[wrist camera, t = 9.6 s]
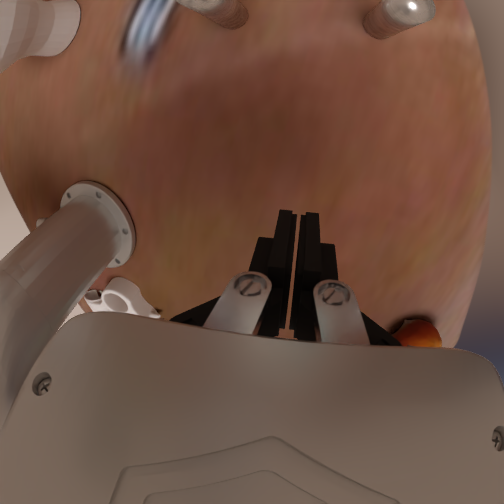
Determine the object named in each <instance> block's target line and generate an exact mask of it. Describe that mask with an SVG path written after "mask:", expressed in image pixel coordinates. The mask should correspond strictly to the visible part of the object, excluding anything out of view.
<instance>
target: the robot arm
mask: <svg viewBox="0 0 504 504" xmlns="http://www.w3.org/2000/svg"><path fill="white" fill-rule="evenodd" d="M296 220H297V214H292V211H290V210H280V211H279V216H278V220H277V225H276V230H275V235H274V238H265V237H259V238H258V241H257V244H256V247H255V251H254V254H253V257H252V261H251V264H250V267H249V271H248V272H242V273H239V274H237V275H236V276H234V277H233V278H232V279H231V280H230V282H229V284H228V285H227V287H226V289H225V290H224V292H223V294H222V295H221V296H219V297H217V298H215V299H213V300H210V301H208V302H206V303H204V304H201V305H199V306H197V307H195V308H192V309H190V310H188V311H186V312H183V313H181V314H179V315H176V316H175V317H173V318H171V319H170V320H169V321H167V320H164V318H152V317H146V316H141V315H135V314H130V313H123V312H114V311H98V312H88V313H84V314H80V315H77V316H75V317H73V318H71V319H70V320H68V321H67V322H66V323H65V324H64V325H63V326H62V327H61V328H60V329H59V327H60V326H61V325H62V324H63V322H64V321H65V319H66V318H67V316H68V315H69V314H70V313H71V311H72V310H73V309H74V307H75V306H76V305H77V303H78V302H79V301H80V299H81V298H82V297H83V295H84V294H85V293H86V292H87V290H88V289H89V288H90V287H91V285H92V284H93V283H94V282H95V280H96V279H97V278H98V277H99V275H100V274H101V273H102V272H103V271H104V269H105V268H106V267H109V268H114V267H119V266H121V265H123V264H124V263H125V262H126V261H127V260H128V259H129V258H130V256H131V255H132V253H133V251H134V248H135V243H136V240H135V230H134V226H133V223H132V220H131V217H130V215H129V213H128V212H127V210H126V208H125V207H124V205H123V204H122V202H121V201H120V200H119V199H118V198H117V197H116V196H115V194H114V193H112V192H111V191H110V190H109V189H107V188H106V187H104V186H102V185H100V184H99V183H95V182H92V181H81V182H77V183H76V184H74V185H72V186H71V187H69V188H68V189H67V190H66V191H65V193H64V194H63V197H62V199H61V204H60V209H59V210H58V211H57V212H55V213H54V214H53V215H52V216H50V217H49V218H39V219H38V220H37V222H36V227H37V228H36V229H35V230H33V231H32V232H31V233H30V234H29V235H28V236H26V237H25V238H24V239H23V240H22V241H21V242H20V243H19V244H18V245H17V246H15V247H14V248H13V249H12V250H11V251H10V252H9V253H8V254H7V255H6V256H5V257H4V258H3V259H2V260H1V261H0V504H504V386H503V383H502V381H501V378H500V376H499V374H498V372H497V370H496V368H495V367H494V366H493V364H492V363H491V362H490V361H488V360H487V359H485V358H484V357H482V356H480V355H477V354H475V353H472V352H469V351H465V350H460V349H454V348H445V347H416V346H411V345H407V346H402V344H401V343H400V342H399V341H398V340H397V339H396V338H394V337H393V336H392V335H391V334H389V333H388V332H387V331H385V330H384V329H383V328H382V327H380V326H379V325H378V324H376V323H375V322H374V321H373V320H371V319H370V318H369V317H367V316H366V315H365V314H364V313H362V312H361V311H360V309H359V306H358V303H357V300H356V297H355V294H354V292H353V290H352V289H351V288H350V287H349V286H348V285H347V284H345V283H343V282H341V281H338V271H337V261H336V252H335V245H334V244H326V243H320V226H319V213H311V212H306V215H301V220H300V230H299V240H298V250H297V259H296V268H295V278H294V289H293V299H292V308H291V317H290V326H289V329H291V330H294V338H297V339H298V340H295V339H286V338H277V337H274V336H278V335H279V328H282V329H285V323H286V315H287V307H288V298H289V290H290V281H291V272H292V262H293V252H294V242H295V231H296ZM58 329H59V330H58Z"/></svg>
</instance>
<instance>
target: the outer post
mask: <svg viewBox="0 0 504 504" xmlns="http://www.w3.org/2000/svg"><path fill="white" fill-rule="evenodd" d="M435 12H436V9H435V5H434V2H433V0H382V1H381V2H380V3H379V4H378V5H377V6H376V7H375V8H374V9H373V10H372V11H371V12H370V13H369V14H368V15H367V16H366V17H365V18H364V20H363V26H364V29H365V30H366V32H367V33H368V34H369V35H370V36H372V37H374V38H376V39H387V38H389V37H391V36H393V35H396V34H398V33H400V32H402V31H405V30H407V29H410V28H412V27H414V26H417V25H419V24H422V23H425V22H427V21H430V20H431V19H432V18H433V17H434V16H435Z"/></svg>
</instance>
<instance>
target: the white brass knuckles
mask: <svg viewBox="0 0 504 504" xmlns="http://www.w3.org/2000/svg"><path fill="white" fill-rule="evenodd" d="M99 291H100V290H99ZM100 293H101V298H99V296H98V293H97V291H96V290H91V291H88V292H86V293H85V295H84V298H85V300H86V302H87V303H88V305H89V306H90V308H91V309H92V311H93V312H98V311H114V312H123V313H130V314H135V315H141V316H146V317H152V318H160V315H159V314H158V312H157V311H156V310H155V309H154V307H153V306H151V305H150V304H149V303H147V302H146V301H145V299H144V298H143V297H142V295H141V293H140V289H139V288H138V287H137V286H136V285H135V284H134V283H132V282H131V281H129V280H127V279H125V278H121V277H116V278H113V279H112V280H111V281H110V283H109V284H108V285H107V286H106V288H105V289H104V290H103V292H102V291H100Z"/></svg>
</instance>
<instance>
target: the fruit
mask: <svg viewBox="0 0 504 504" xmlns="http://www.w3.org/2000/svg"><path fill="white" fill-rule="evenodd" d="M391 335H392V336H393V337H394V338H396V339H397V340H398V341H399V342H400V343H401V344H402V346H407V345H411V346H416V347H442V340H441V337H440V335H439V333H438V330H437V329H436V328H435V327H434V326H433V325H432V324H431V323H429V322H427V321H424V320H421V319H416V320H405V319H404V323H403V325H402V326H401V328H400V329H399V330H398V331H397V332H396V333H394V334H391Z"/></svg>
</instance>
